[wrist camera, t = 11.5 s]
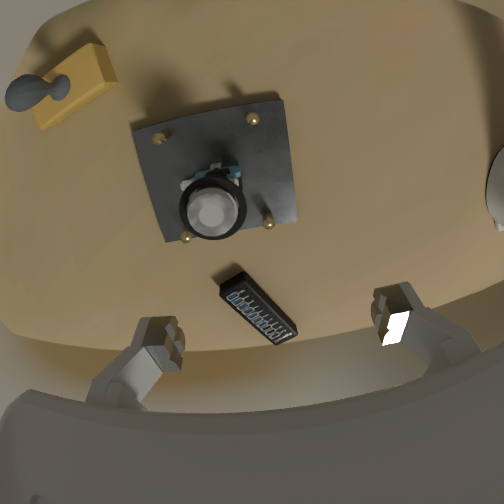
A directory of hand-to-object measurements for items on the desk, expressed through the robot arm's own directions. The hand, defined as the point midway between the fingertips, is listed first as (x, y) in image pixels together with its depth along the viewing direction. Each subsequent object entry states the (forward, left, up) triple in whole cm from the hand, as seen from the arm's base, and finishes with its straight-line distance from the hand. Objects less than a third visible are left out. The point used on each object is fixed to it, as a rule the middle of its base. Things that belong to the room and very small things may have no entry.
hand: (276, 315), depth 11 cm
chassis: (+4, 0, -22) cm, 22 cm away
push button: (+4, 0, -21) cm, 22 cm away
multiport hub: (+2, +21, -23) cm, 31 cm away
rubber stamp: (+18, -15, -22) cm, 32 cm away
